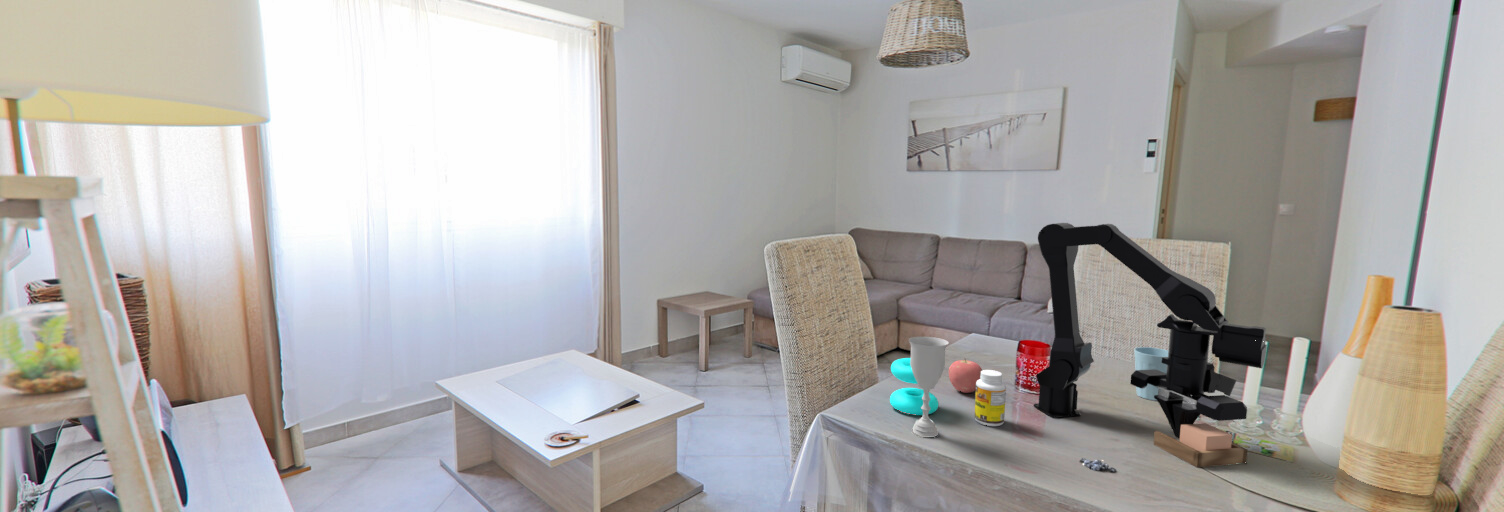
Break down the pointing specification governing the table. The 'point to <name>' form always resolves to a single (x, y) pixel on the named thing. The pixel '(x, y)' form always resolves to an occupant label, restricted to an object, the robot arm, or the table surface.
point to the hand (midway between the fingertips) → (1179, 438)
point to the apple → (964, 375)
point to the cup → (1149, 367)
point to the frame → (1201, 452)
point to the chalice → (927, 375)
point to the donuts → (909, 390)
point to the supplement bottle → (990, 398)
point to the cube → (1204, 437)
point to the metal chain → (1097, 465)
